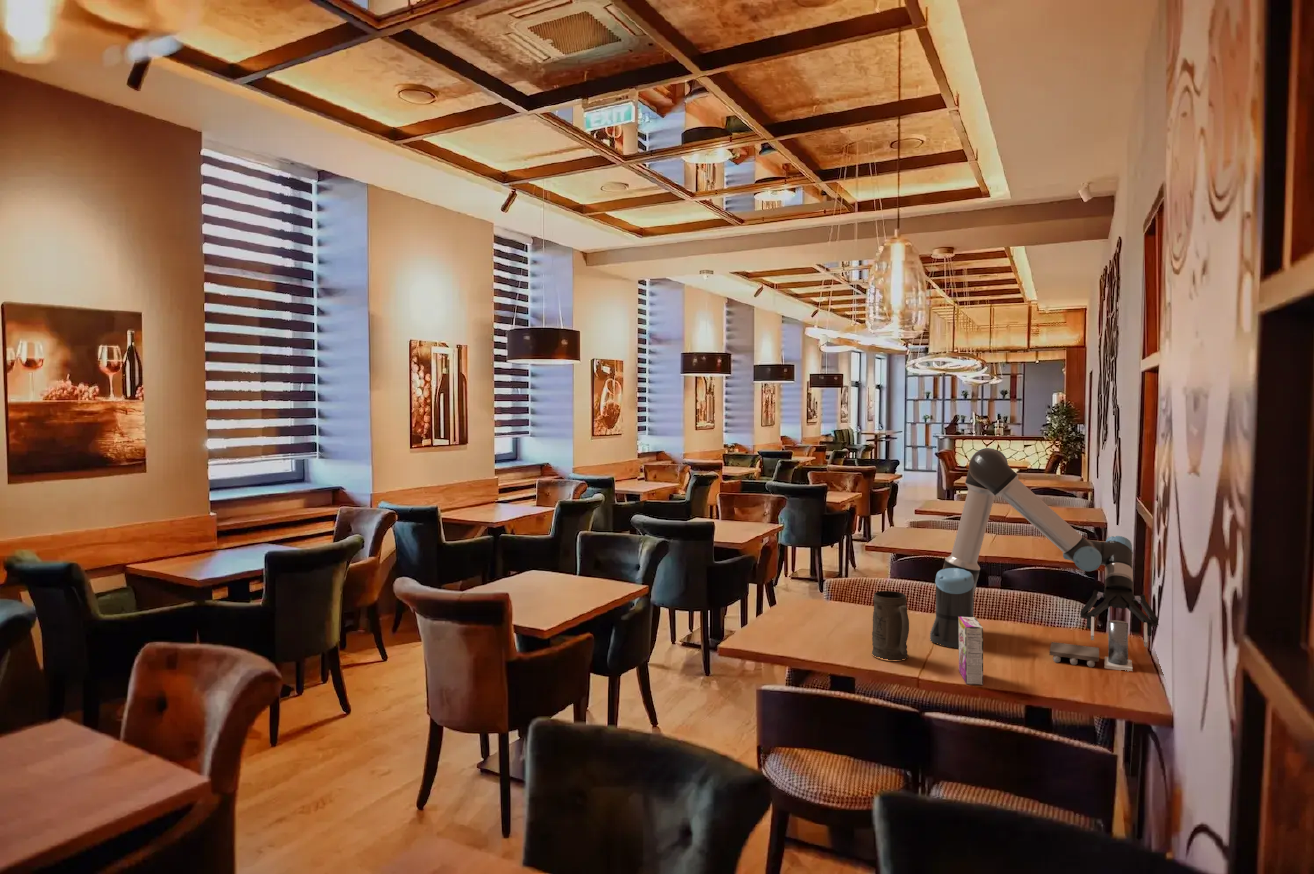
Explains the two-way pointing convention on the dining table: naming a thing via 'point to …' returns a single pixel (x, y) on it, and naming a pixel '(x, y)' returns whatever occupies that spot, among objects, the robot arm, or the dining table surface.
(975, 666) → the candy bar box
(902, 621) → the beer stein
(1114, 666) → the plate
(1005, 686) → the dining table surface
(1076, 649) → the roller slab
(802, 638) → the dining table surface
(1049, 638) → the dining table surface
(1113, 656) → the steel roller
